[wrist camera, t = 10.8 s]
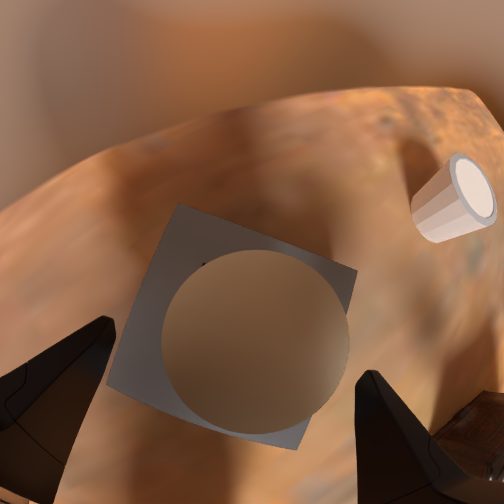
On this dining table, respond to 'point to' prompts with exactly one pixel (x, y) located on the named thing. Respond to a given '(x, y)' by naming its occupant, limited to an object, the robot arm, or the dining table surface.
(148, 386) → the socket
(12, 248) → the dining table surface
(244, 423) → the peg
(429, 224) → the shot glass
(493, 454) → the pepper mill
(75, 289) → the dining table surface
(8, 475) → the robot arm
